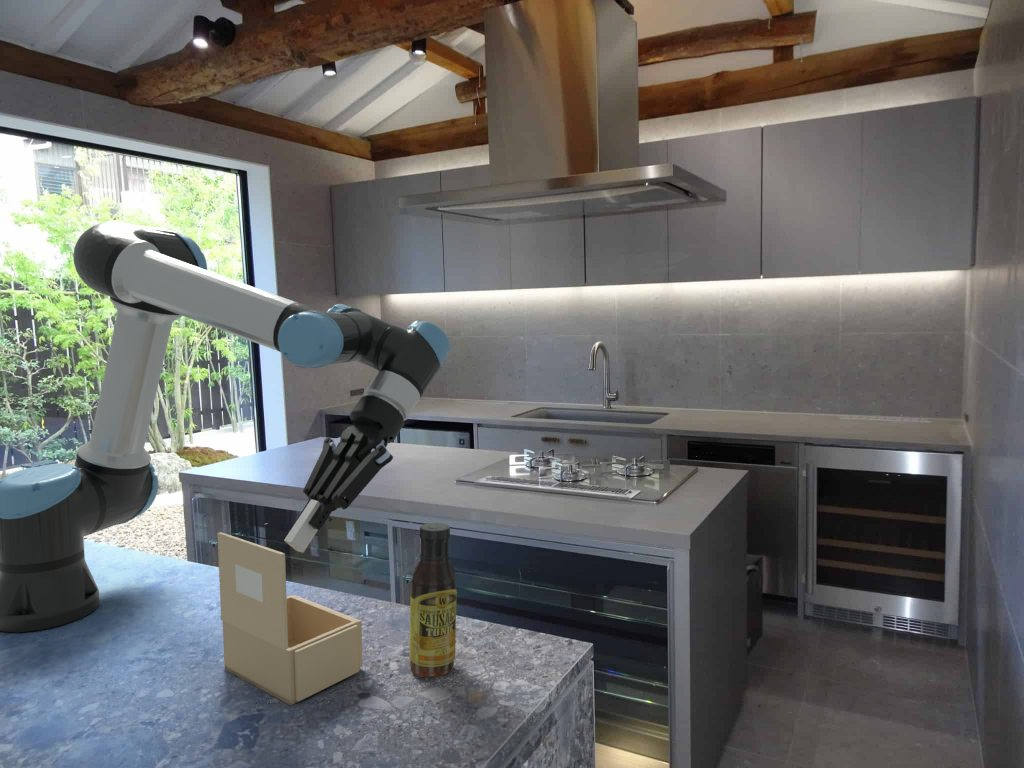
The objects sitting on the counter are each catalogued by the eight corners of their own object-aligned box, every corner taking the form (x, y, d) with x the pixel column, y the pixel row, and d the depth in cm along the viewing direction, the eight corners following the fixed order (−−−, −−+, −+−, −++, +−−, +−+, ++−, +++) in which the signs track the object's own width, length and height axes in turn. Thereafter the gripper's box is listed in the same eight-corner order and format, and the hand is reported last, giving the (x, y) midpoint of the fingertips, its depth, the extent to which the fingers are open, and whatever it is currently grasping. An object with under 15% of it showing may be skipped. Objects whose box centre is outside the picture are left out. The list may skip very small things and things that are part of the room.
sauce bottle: (418, 685, 94) (416, 536, 92) (403, 664, 99) (400, 523, 98) (464, 673, 97) (463, 529, 95) (447, 654, 102) (445, 517, 101)
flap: (220, 620, 97) (216, 533, 96) (224, 618, 98) (220, 532, 96) (284, 650, 88) (280, 554, 87) (288, 648, 89) (285, 553, 88)
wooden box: (222, 668, 99) (220, 618, 98) (294, 638, 108) (292, 592, 107) (293, 707, 89) (291, 652, 88) (366, 670, 98) (365, 620, 97)
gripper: (428, 428, 106) (341, 570, 94) (368, 420, 114) (281, 551, 102) (401, 395, 101) (306, 541, 90) (341, 390, 109) (246, 523, 98)
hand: (293, 546), depth 96 cm, fingers closed
